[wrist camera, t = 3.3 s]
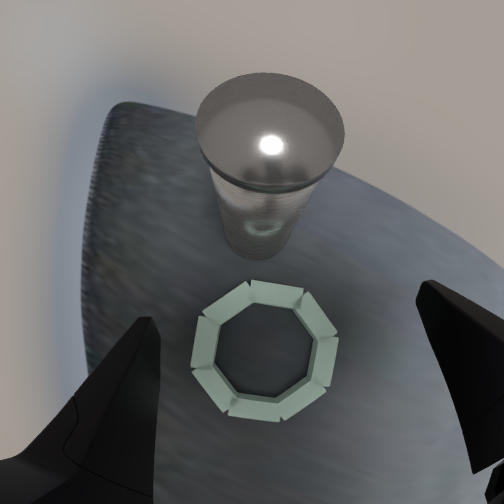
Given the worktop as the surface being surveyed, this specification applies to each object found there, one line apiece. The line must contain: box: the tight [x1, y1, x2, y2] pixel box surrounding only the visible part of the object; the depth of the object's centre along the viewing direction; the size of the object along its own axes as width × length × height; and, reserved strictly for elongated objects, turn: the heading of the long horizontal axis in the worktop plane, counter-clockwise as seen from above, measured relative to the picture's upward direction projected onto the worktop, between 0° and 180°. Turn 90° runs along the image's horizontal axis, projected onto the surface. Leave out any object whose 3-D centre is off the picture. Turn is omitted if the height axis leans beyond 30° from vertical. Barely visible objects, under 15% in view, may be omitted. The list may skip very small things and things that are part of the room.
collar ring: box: [190, 280, 339, 422], centre depth 19 cm, size 10×10×2 cm
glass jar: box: [195, 73, 345, 260], centre depth 15 cm, size 5×5×13 cm
